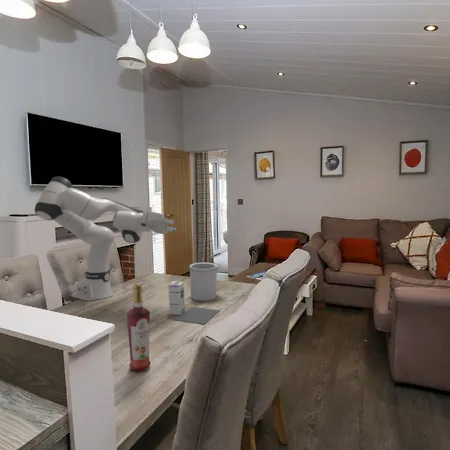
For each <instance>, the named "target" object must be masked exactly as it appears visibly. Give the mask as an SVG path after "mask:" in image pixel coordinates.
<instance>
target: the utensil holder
mask: <svg viewBox="0 0 450 450" xmlns="http://www.w3.org/2000/svg"><path fill="white" fill-rule="evenodd" d="M217 269H218V265H217V264H216V263H213V262H195V263H191V264H190V265H189V277H190V279H189V280H190V297H191V299H192V300H194V301H198V302H199V301H200V302H206V301H212V300H215V299H216V297H217V277H218V275H217V271H218V270H217Z"/></svg>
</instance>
